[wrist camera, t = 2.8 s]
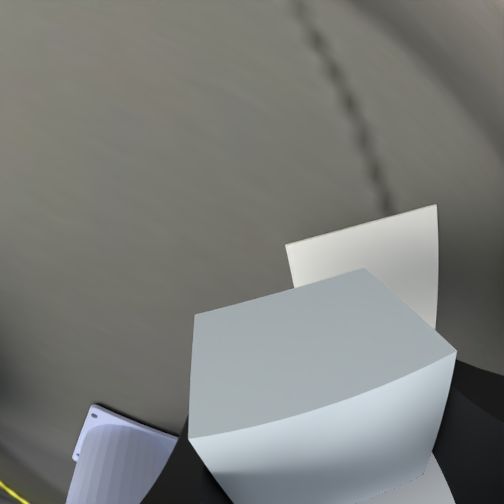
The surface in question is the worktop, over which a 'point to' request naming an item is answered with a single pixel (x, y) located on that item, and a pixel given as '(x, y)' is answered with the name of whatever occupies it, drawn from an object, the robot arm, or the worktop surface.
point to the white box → (317, 393)
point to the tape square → (378, 257)
